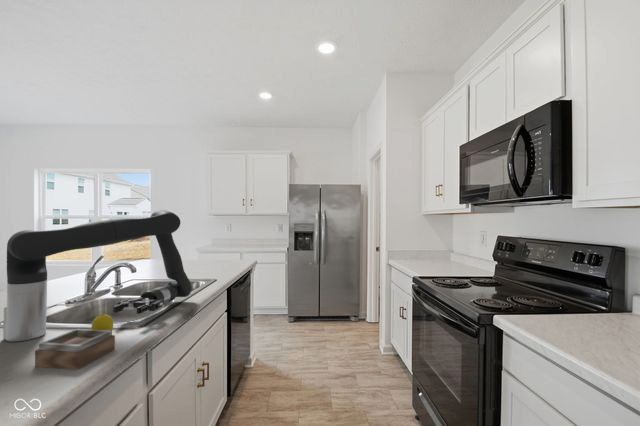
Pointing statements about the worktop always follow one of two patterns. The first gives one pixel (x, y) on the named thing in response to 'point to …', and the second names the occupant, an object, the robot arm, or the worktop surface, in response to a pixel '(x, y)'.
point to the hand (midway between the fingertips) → (126, 310)
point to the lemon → (102, 323)
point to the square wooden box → (74, 348)
